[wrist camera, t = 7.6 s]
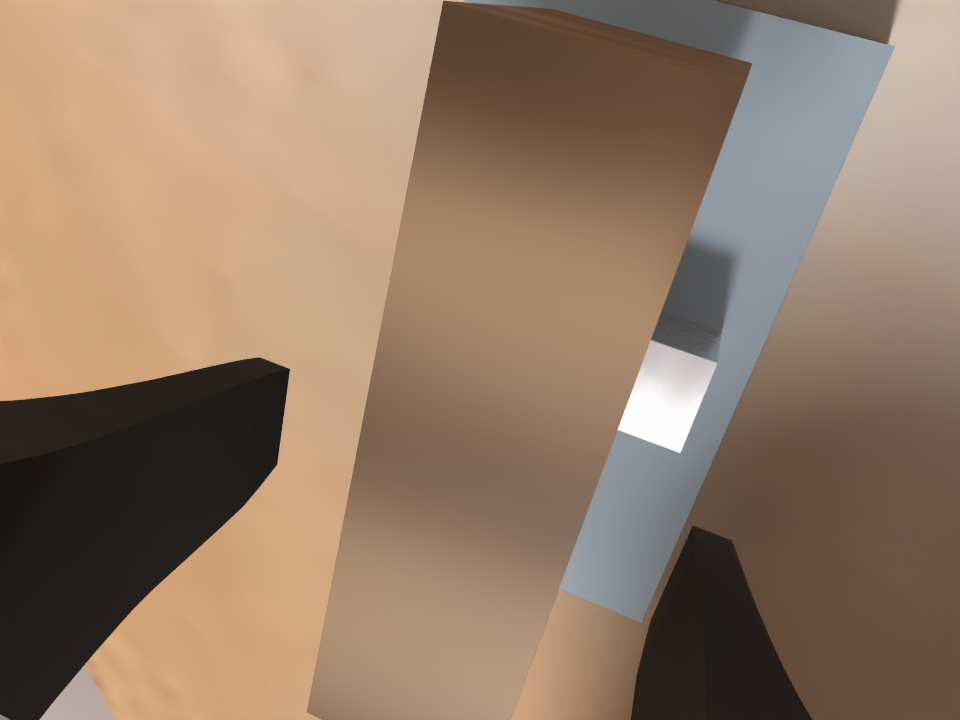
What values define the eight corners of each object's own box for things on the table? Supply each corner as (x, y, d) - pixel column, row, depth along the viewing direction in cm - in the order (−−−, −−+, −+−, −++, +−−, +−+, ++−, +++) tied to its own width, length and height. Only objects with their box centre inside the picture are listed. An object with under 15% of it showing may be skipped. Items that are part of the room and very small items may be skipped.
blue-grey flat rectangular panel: (646, 601, 24) (641, 623, 23) (376, 491, 25) (363, 507, 25) (888, 45, 17) (895, 46, 16) (491, -56, 18) (477, -61, 17)
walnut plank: (552, 604, 21) (481, 796, 16) (417, 547, 22) (306, 712, 17) (752, 63, 15) (745, 84, 10) (552, 8, 16) (443, 0, 10)
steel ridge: (687, 415, 20) (680, 453, 18) (435, 324, 21) (406, 351, 20) (721, 331, 19) (717, 363, 17) (454, 241, 20) (424, 262, 18)
